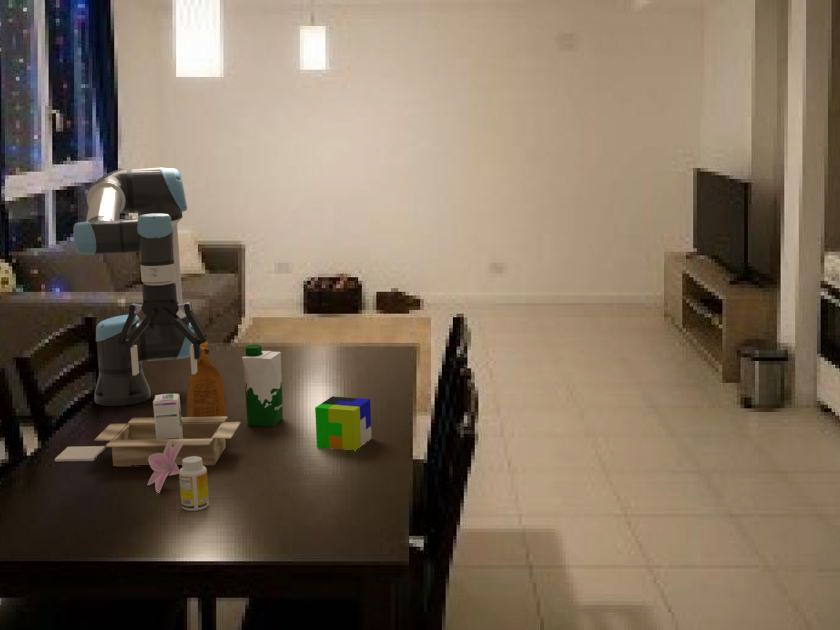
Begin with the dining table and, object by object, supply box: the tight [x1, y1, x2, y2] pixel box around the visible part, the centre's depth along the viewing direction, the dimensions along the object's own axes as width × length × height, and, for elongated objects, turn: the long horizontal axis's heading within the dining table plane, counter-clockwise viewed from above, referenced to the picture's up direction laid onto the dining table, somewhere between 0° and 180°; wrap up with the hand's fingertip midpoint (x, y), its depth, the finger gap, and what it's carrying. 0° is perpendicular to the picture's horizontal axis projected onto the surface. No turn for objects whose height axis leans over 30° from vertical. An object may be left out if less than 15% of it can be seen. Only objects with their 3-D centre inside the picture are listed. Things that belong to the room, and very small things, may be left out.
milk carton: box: [241, 344, 284, 427], centre depth 272 cm, size 9×9×20 cm
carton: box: [94, 415, 241, 467], centre depth 248 cm, size 21×31×6 cm
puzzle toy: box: [314, 395, 372, 452], centre depth 254 cm, size 10×10×10 cm
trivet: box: [54, 445, 106, 462], centre depth 251 cm, size 9×9×1 cm
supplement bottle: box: [178, 456, 210, 512], centre depth 216 cm, size 6×6×10 cm
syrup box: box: [152, 392, 183, 439], centre depth 247 cm, size 6×6×14 cm
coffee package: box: [186, 341, 227, 422], centre depth 268 cm, size 10×12×22 cm
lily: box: [147, 439, 184, 494], centre depth 229 cm, size 12×12×10 cm
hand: (165, 373), depth 244 cm, fingers open, 13 cm apart
